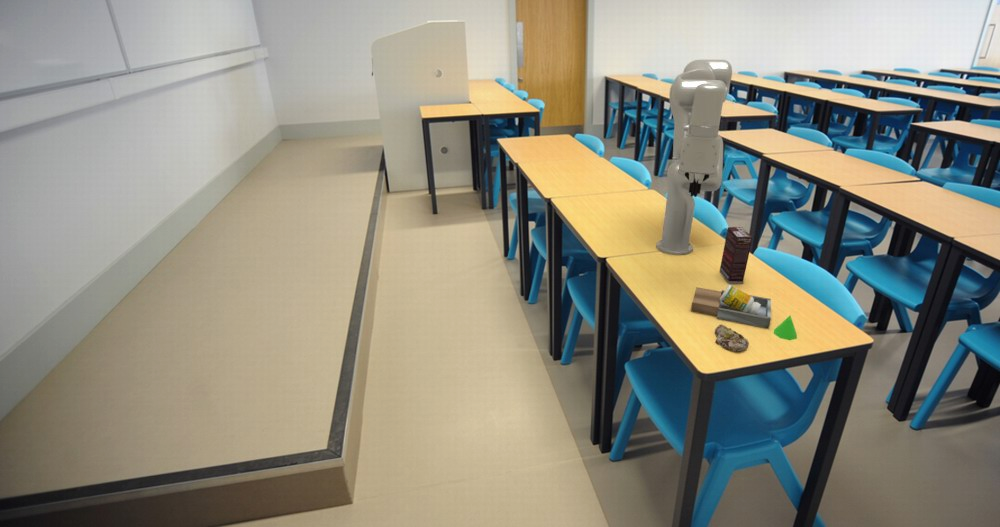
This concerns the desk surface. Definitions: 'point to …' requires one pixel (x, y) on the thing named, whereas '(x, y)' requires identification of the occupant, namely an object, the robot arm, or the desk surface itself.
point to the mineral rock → (730, 339)
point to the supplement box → (735, 255)
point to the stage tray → (730, 308)
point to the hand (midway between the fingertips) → (693, 195)
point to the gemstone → (786, 330)
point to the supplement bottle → (739, 300)
